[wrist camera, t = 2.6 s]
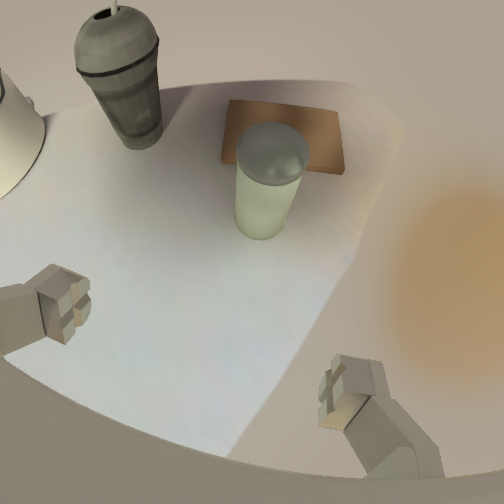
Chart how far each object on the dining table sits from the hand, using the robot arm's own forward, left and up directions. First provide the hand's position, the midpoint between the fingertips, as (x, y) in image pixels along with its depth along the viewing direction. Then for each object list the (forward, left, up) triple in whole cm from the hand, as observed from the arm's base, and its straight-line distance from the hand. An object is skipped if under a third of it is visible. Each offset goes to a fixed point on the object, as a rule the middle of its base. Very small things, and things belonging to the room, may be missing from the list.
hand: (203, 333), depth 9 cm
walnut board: (+5, +21, -16) cm, 27 cm away
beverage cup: (-10, +21, -16) cm, 28 cm away
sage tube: (+3, +12, -16) cm, 20 cm away
